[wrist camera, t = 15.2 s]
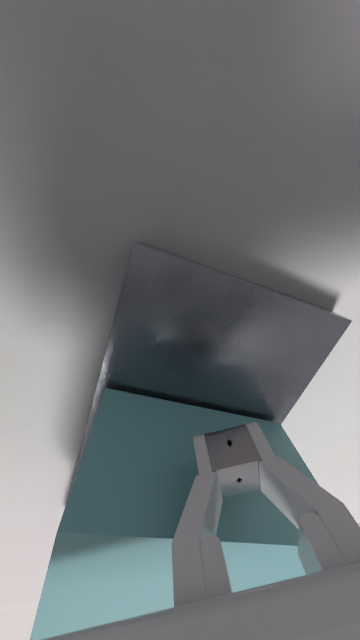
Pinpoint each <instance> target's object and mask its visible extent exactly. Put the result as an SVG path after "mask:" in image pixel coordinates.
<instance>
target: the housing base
mask: <svg viewBox="0 0 360 640" xmlns="http://www.w3.org/2000/svg"><path fill="white" fill-rule="evenodd" d="M351 322H352V321H351V320H349V319H347V318H345V317H343V316H341V315H338V314H336V313H334V312H332V311H329V310H326V309H323V308H321V307H318V306H315V305H312V304H309V303H307V302H304V301H301V300H298V299H295V298H293V297H290V296H287V295H284V294H281V293H279V292H276V291H273V290H270V289H267V288H265V287H262V286H259V285H256V284H253V283H251V282H248V281H245V280H242V279H239V278H237V277H234V276H231V275H228V274H225V273H223V272H220V271H217V270H214V269H211V268H209V267H206V266H203V265H200V264H197V263H195V262H192V261H189V260H186V259H183V258H181V257H178V256H175V255H172V254H169V253H167V252H164V251H161V250H158V249H155V248H153V247H150V246H147V245H144V244H141V243H139V242H135V243H134V244H133V248H132V252H131V256H130V260H129V264H128V268H127V272H126V275H125V279H124V283H123V287H122V291H121V295H120V299H119V302H118V306H117V310H116V314H115V318H114V322H113V326H112V330H111V333H110V337H109V341H108V345H107V349H106V353H105V357H104V361H103V364H102V368H101V372H100V376H99V380H98V384H97V388H96V392H95V395H94V399H93V403H92V407H91V411H90V415H89V419H88V422H87V426H86V430H85V434H84V438H83V442H82V446H81V450H80V453H79V457H78V461H77V465H76V469H75V473H74V477H73V481H72V484H71V488H70V492H71V489H72V486H73V483H74V480H75V477H76V474H77V471H78V468H79V465H80V462H81V459H82V456H83V453H84V450H85V447H86V444H87V441H88V438H89V435H90V432H91V429H92V426H93V423H94V420H95V417H96V414H97V411H98V408H99V405H100V402H101V399H102V396H103V393H104V390H105V388H108V389H113V390H118V391H123V392H128V393H133V394H138V395H143V396H148V397H153V398H157V399H162V400H167V401H172V402H177V403H182V404H187V405H192V406H197V407H202V408H207V409H212V410H217V411H222V412H227V413H232V414H237V415H242V416H246V417H251V418H256V419H261V420H266V421H271V422H276V423H280V425H281V423H282V422H283V421H284V419H285V418H286V416H287V415H288V413H289V412H290V410H291V409H292V407H293V406H294V405H295V403H296V402H297V400H298V399H299V397H300V396H301V394H302V393H303V391H304V390H305V389H306V387H307V386H308V384H309V383H310V381H311V380H312V378H313V377H314V375H315V374H316V372H317V371H318V370H319V368H320V367H321V365H322V364H323V362H324V361H325V359H326V358H327V356H328V355H329V354H330V352H331V351H332V349H333V348H334V346H335V345H336V343H337V342H338V340H339V339H340V338H341V336H342V335H343V333H344V332H345V330H346V329H347V327H348V326H349V324H350V323H351ZM70 492H69V495H70ZM68 498H69V496H68ZM67 501H68V500H67Z"/></svg>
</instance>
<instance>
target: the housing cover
mask: <svg viewBox="0 0 360 640" xmlns="http://www.w3.org/2000/svg"><path fill="white" fill-rule="evenodd" d="M253 422H257V423H258V425H259V427H260V429H261V431H262V432H263V434H264V436H265V438H266V440H267V442H268V444H269V446H270V448H271V450H272V451H273V453H274V455H275V457H280V458H282V459H283V460H285V461H286V462H287V463H289V464H290V465H291V466H293V467H294V468H296V469H297V470H298V471H300V472H301V473H302V474H304V475H305V476H306V477H308V478H309V479H311V480H312V481H313V482H315V483H316V484H317V485H318V483H317V482H316V480H315V479H314V477H313V475H312V474H311V472H310V471H309V469H308V467H307V466H306V464H305V463H304V461H303V460H302V458H301V456H300V455H299V453H298V452H297V450H296V448H295V447H294V445H293V444H292V442H291V440H290V439H289V437H288V436H287V434H286V433H285V431H284V429H283V428H282V426H281V425H280V423H276V422H271V421H266V420H261V419H256V418H251V417H246V416H242V415H237V414H232V413H227V412H222V411H217V410H212V409H207V408H202V407H197V406H192V405H187V404H182V403H177V402H172V401H167V400H162V399H157V398H153V397H148V396H143V395H138V394H133V393H128V392H123V391H118V390H113V389H108V388H105V390H104V393H103V396H102V399H101V402H100V405H99V408H98V411H97V414H96V417H95V420H94V423H93V426H92V429H91V432H90V435H89V438H88V441H87V444H86V447H85V450H84V453H83V456H82V459H81V462H80V465H79V468H78V471H77V474H76V477H75V480H74V483H73V486H72V489H71V492H70V495H69V498H68V501H67V504H66V507H65V510H64V513H63V516H62V519H61V522H60V525H59V528H58V531H57V534H56V538H55V542H54V546H53V550H52V554H51V558H50V562H49V566H48V570H47V574H46V578H45V582H44V586H43V590H42V594H41V598H40V602H39V606H38V610H37V614H36V618H35V622H34V626H33V630H32V633H31V637H30V640H40V639H44V638H48V637H52V636H57V635H61V634H65V633H69V632H73V631H77V630H81V629H85V628H90V627H94V626H98V625H102V624H106V623H110V622H114V621H118V620H122V619H127V618H131V617H135V616H139V615H143V614H147V613H151V612H155V611H160V610H164V609H168V608H172V607H174V594H173V570H172V546H171V544H172V541H173V538H174V535H175V532H176V530H177V527H178V524H179V521H180V518H181V516H182V513H183V510H184V507H185V505H186V502H187V499H188V496H189V493H190V491H191V488H192V485H193V482H194V480H195V477H196V476H198V475H199V472H198V466H197V460H196V454H195V448H194V442H193V436H197V435H201V434H206V433H211V432H216V431H220V430H223V429H227V428H231V427H235V426H239V425H243V424H249V423H253ZM204 437H205V436H204ZM205 441H206V440H205ZM222 499H223V502H222V507H221V512H220V517H219V522H218V527H217V532H216V536H217V537H218V538H219V539H220V541H221V545H222V549H223V553H224V557H225V561H226V565H227V569H228V573H229V577H230V582H231V586H232V591H233V593H234V592H238V591H242V590H246V589H250V588H254V587H258V586H263V585H267V584H271V583H275V582H279V581H283V580H287V579H291V578H295V577H300V576H304V575H306V573H305V571H304V569H303V566H302V564H301V562H300V559H299V557H298V537H299V529H298V528H297V527H296V526H295V525H294V524H293V523H292V522H291V521H290V520H289V519H288V518H287V517H286V516H285V515H284V514H283V513H282V512H281V511H280V510H279V509H278V508H277V507H276V506H275V505H274V504H273V503H272V502H271V501H270V500H269V498H268V497H267V496H266V495H265V494H264V493H263V492H262V491H261V489H260V490H255V491H251V492H246V493H241V494H237V495H233V496H230V497H226V498H222Z"/></svg>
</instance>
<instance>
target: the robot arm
mask: <svg viewBox="0 0 360 640" xmlns="http://www.w3.org/2000/svg"><path fill="white" fill-rule="evenodd" d="M204 436H205V437H204ZM205 440H206V441H205ZM193 442H194V448H195V454H196V460H197V466H198V472H199V475H198V476H196V477H195V480H194V482H193V485H192V488H191V491H190V493H189V496H188V499H187V502H186V505H185V507H184V510H183V513H182V516H181V518H180V521H179V524H178V527H177V530H176V532H175V535H174V538H173V541H172V544H171V546H172V570H173V594H174V607H172V608H168V609H164V610H160V611H155V612H151V613H147V614H143V615H139V616H135V617H131V618H127V619H122V620H118V621H114V622H110V623H106V624H102V625H98V626H94V627H90V628H85V629H81V630H77V631H73V632H69V633H65V634H61V635H57V636H52V637H48V638H44V639H40V640H360V527H359V526H358V524H357V523H356V521H355V520H354V518H353V517H352V515H351V514H350V512H349V511H348V509H347V508H346V507H345V505H344V504H343V503H342V502H341V501H339V500H338V499H337V498H335V497H334V496H333V495H331V494H330V493H328V492H327V491H326V490H324V489H323V488H322V487H320V486H319V485H317V484H316V483H315V482H313V481H312V480H311V479H309V478H308V477H306V476H305V475H304V474H302V473H301V472H300V471H298V470H297V469H296V468H294V467H293V466H291V465H290V464H289V463H287V462H286V461H285V460H283V459H282V458H280V457H275V455H274V453H273V451H272V450H271V448H270V446H269V444H268V442H267V440H266V438H265V436H264V434H263V432H262V431H261V429H260V427H259V425H258V423H257V422H253V423H249V424H243V425H239V426H235V427H231V428H227V429H223V430H220V431H216V432H211V433H206V434H201V435H197V436H193ZM260 489H261V491H262V492H263V493H264V494H265V495H266V496H267V497H268V498H269V500H270V501H271V502H272V503H273V504H274V505H275V506H276V507H277V508H278V509H279V510H280V511H281V512H282V513H283V514H284V515H285V516H286V517H287V518H288V519H289V520H290V521H291V522H292V523H293V524H294V525H295V526H296V527H297V528H298V529H299V537H298V557H299V559H300V562H301V564H302V566H303V569H304V571H305V573H306V575H304V576H300V577H295V578H291V579H287V580H283V581H279V582H275V583H271V584H267V585H263V586H258V587H254V588H250V589H246V590H242V591H238V592H234V593H233V591H232V586H231V582H230V577H229V573H228V569H227V565H226V561H225V557H224V553H223V549H222V545H221V541H220V539H219V538H218V537H217V536H216V532H217V527H218V522H219V517H220V512H221V507H222V502H223V499H222V498H226V497H230V496H233V495H237V494H241V493H246V492H251V491H255V490H260Z"/></svg>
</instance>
